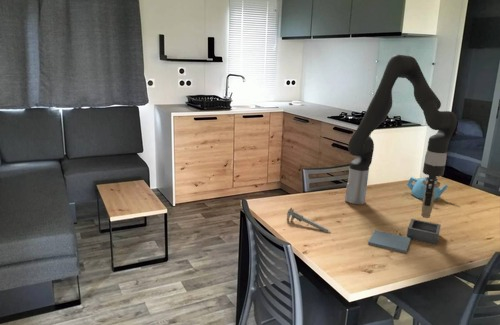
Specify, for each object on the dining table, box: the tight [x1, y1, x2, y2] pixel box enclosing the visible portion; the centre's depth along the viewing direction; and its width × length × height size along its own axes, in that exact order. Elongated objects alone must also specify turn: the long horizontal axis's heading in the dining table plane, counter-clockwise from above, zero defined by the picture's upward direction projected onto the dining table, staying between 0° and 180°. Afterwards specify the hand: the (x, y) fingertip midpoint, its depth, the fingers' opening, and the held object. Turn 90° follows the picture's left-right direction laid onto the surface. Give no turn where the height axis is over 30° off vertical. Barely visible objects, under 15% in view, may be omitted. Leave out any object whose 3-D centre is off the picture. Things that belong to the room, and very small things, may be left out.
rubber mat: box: [367, 229, 412, 254], centre depth 160 cm, size 14×13×1 cm
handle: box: [421, 179, 441, 219], centre depth 162 cm, size 5×6×15 cm
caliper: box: [286, 207, 332, 234], centre depth 171 cm, size 20×1×6 cm, turn 54°
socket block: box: [406, 218, 442, 246], centre depth 166 cm, size 11×11×4 cm
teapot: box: [406, 176, 449, 201], centre depth 214 cm, size 15×15×11 cm
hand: (427, 203), depth 163 cm, fingers closed on handle, 4 cm apart
